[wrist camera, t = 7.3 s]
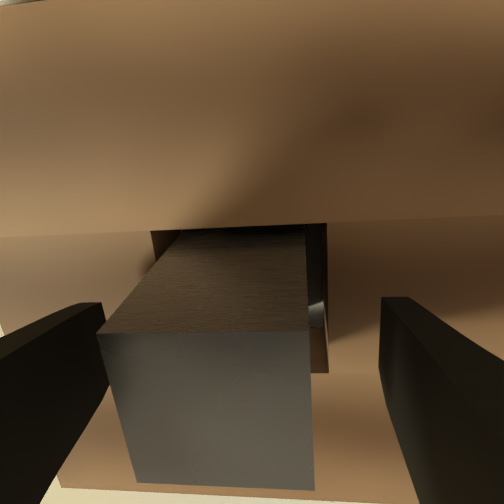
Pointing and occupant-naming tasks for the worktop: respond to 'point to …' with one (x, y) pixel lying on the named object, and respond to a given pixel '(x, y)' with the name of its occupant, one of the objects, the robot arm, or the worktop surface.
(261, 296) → the square bit
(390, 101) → the plate
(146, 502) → the worktop surface
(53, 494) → the worktop surface
